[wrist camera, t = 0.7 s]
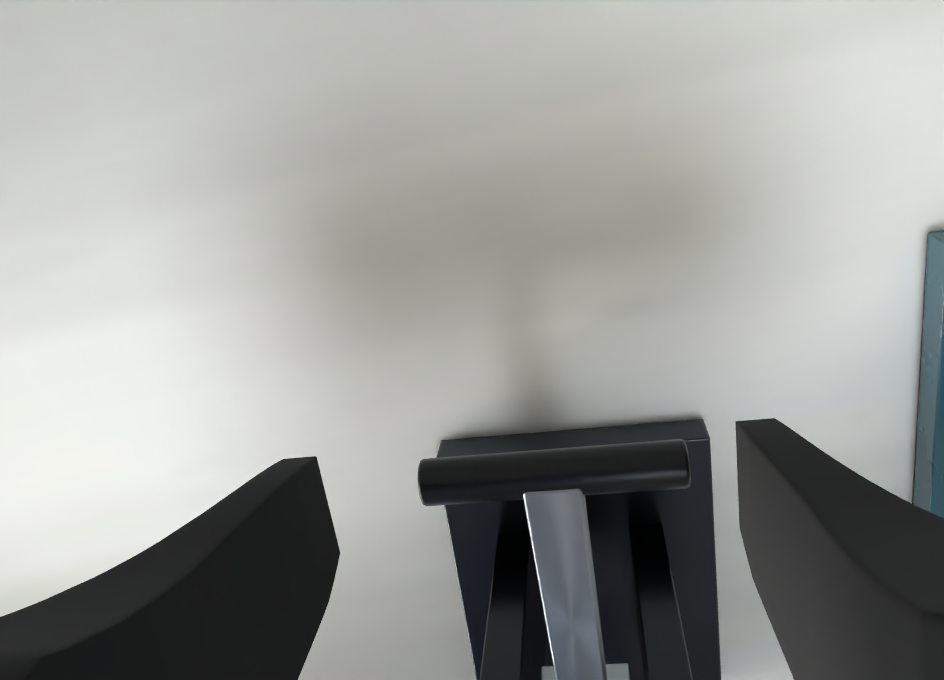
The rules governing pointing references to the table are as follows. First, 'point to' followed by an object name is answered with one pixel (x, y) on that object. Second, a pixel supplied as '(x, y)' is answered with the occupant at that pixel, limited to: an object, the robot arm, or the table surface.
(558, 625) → the lever
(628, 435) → the bracket
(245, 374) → the table surface
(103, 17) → the table surface
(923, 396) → the button box
